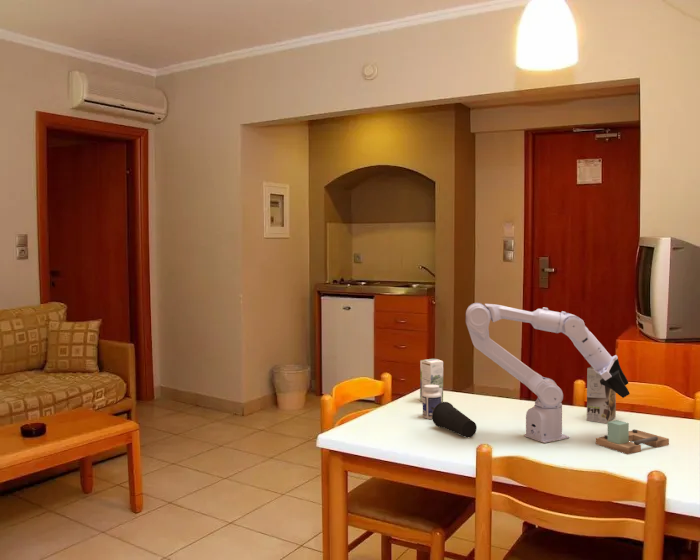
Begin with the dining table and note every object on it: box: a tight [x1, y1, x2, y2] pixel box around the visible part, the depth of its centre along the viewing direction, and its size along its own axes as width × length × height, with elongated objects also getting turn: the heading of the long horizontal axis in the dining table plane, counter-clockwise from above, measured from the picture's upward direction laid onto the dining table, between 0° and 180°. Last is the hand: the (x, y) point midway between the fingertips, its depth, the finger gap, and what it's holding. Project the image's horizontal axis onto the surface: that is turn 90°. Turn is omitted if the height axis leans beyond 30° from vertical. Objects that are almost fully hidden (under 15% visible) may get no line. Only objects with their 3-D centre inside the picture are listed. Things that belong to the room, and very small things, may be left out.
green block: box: [607, 419, 630, 444], centre depth 168 cm, size 4×4×5 cm
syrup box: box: [419, 358, 444, 403], centre depth 222 cm, size 6×6×14 cm
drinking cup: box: [431, 401, 478, 439], centre depth 188 cm, size 8×8×20 cm
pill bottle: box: [422, 385, 441, 420], centre depth 201 cm, size 6×6×10 cm
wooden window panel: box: [595, 429, 670, 455], centre depth 171 cm, size 16×10×3 cm, turn 118°
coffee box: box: [586, 365, 617, 424], centre depth 197 cm, size 9×6×16 cm
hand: (625, 390), depth 175 cm, fingers open, 7 cm apart
